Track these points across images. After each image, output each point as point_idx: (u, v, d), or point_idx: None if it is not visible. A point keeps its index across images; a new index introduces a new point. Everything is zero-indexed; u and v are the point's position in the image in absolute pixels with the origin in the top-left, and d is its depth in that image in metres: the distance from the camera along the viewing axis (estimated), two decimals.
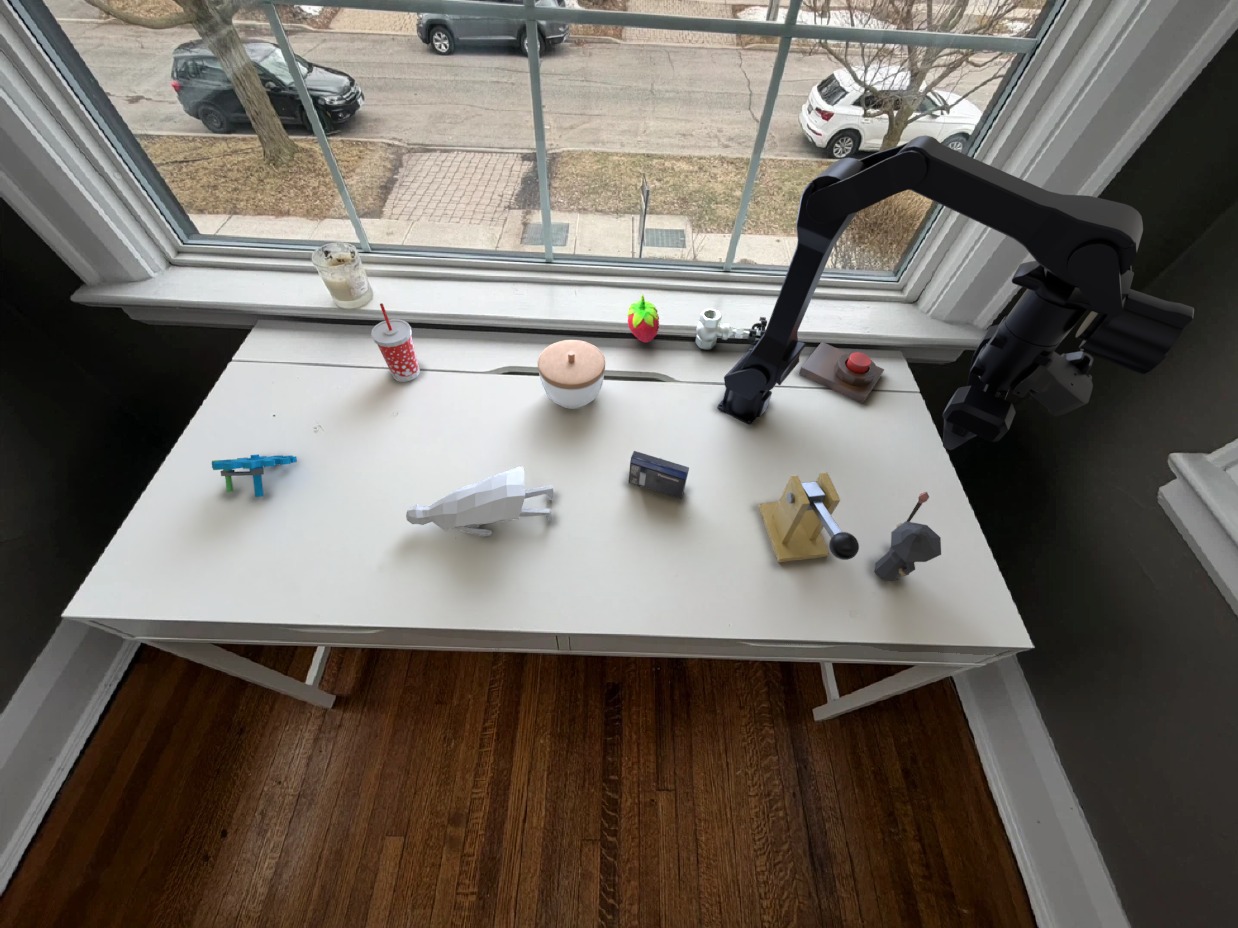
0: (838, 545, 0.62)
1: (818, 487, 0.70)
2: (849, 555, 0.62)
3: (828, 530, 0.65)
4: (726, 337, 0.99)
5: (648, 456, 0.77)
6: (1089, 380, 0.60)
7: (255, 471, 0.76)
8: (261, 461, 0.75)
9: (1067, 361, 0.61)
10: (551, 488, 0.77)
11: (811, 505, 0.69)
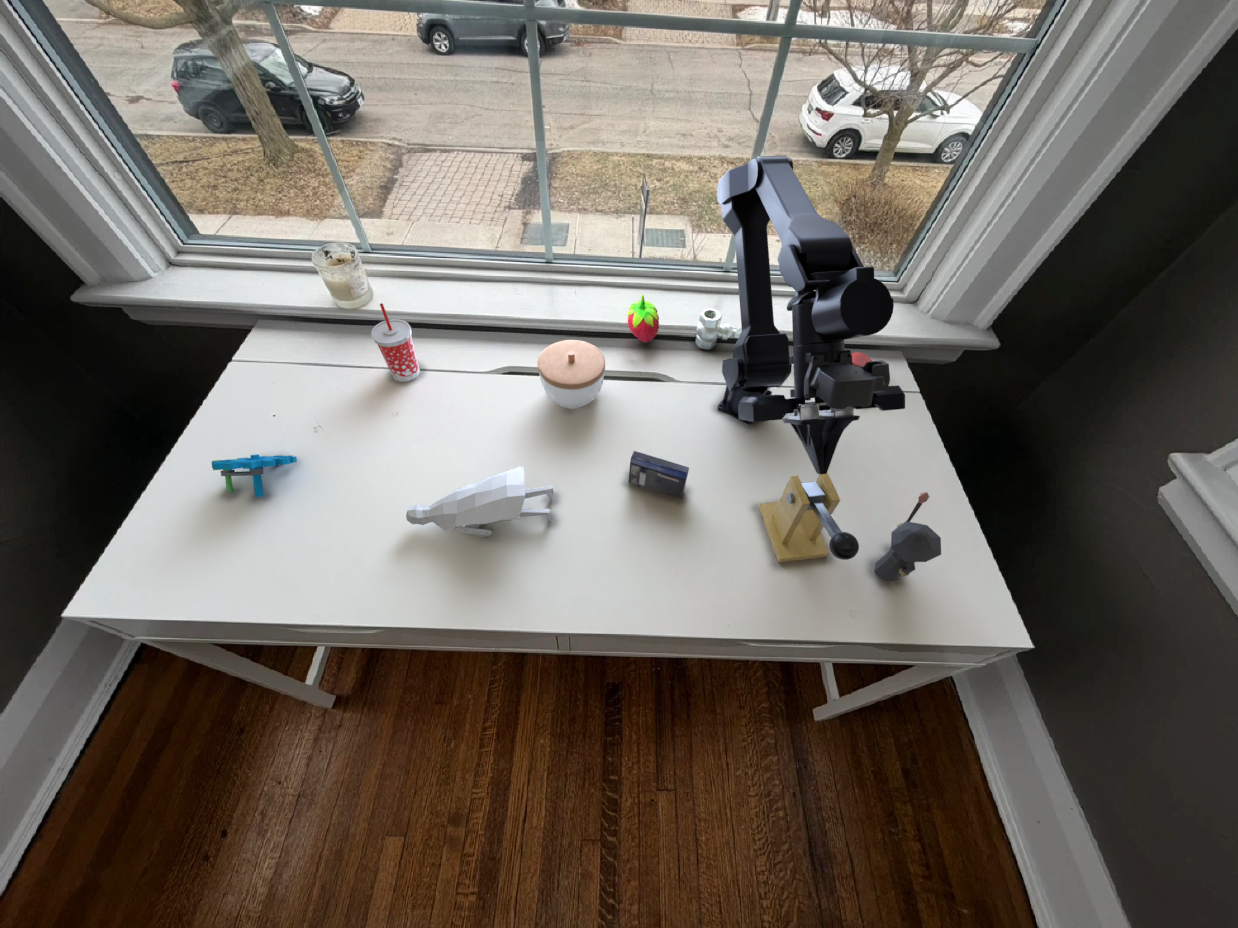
0: (838, 545, 0.62)
1: (818, 487, 0.70)
2: (849, 555, 0.62)
3: (828, 530, 0.65)
4: (726, 337, 0.99)
5: (648, 456, 0.77)
6: (873, 377, 0.58)
7: (255, 471, 0.76)
8: (261, 461, 0.75)
9: (859, 368, 0.61)
10: (551, 488, 0.77)
11: (811, 505, 0.69)
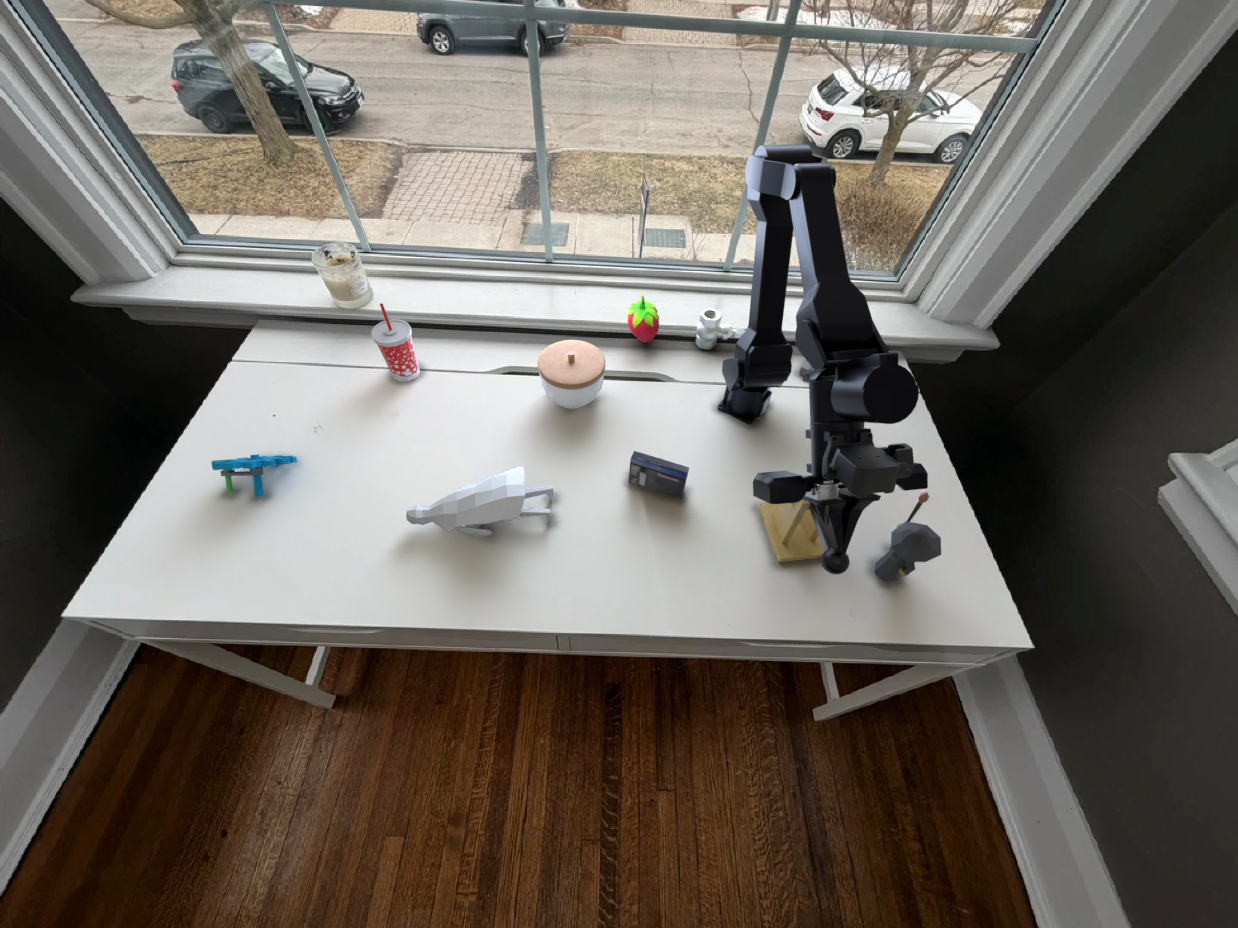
0: (830, 564, 0.64)
1: None
2: (839, 573, 0.65)
3: (822, 541, 0.67)
4: (726, 337, 0.99)
5: (648, 456, 0.77)
6: (897, 463, 0.55)
7: (255, 471, 0.76)
8: (261, 461, 0.75)
9: (880, 450, 0.58)
10: (551, 488, 0.77)
11: (810, 507, 0.70)
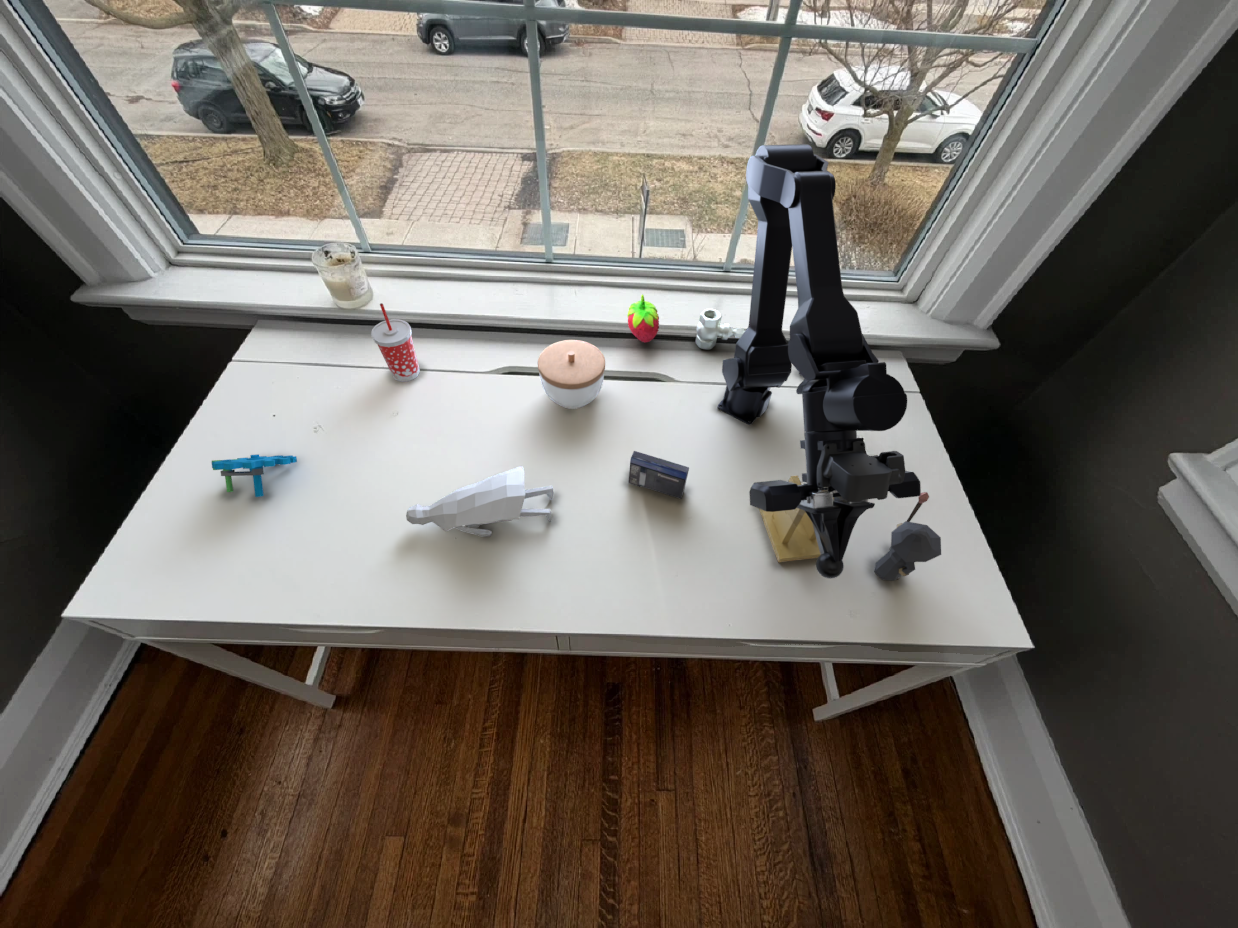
0: (824, 569, 0.66)
1: None
2: None
3: (819, 543, 0.68)
4: (726, 337, 0.99)
5: (648, 456, 0.77)
6: (888, 470, 0.57)
7: (255, 471, 0.76)
8: (261, 461, 0.75)
9: (872, 458, 0.59)
10: (551, 488, 0.77)
11: None
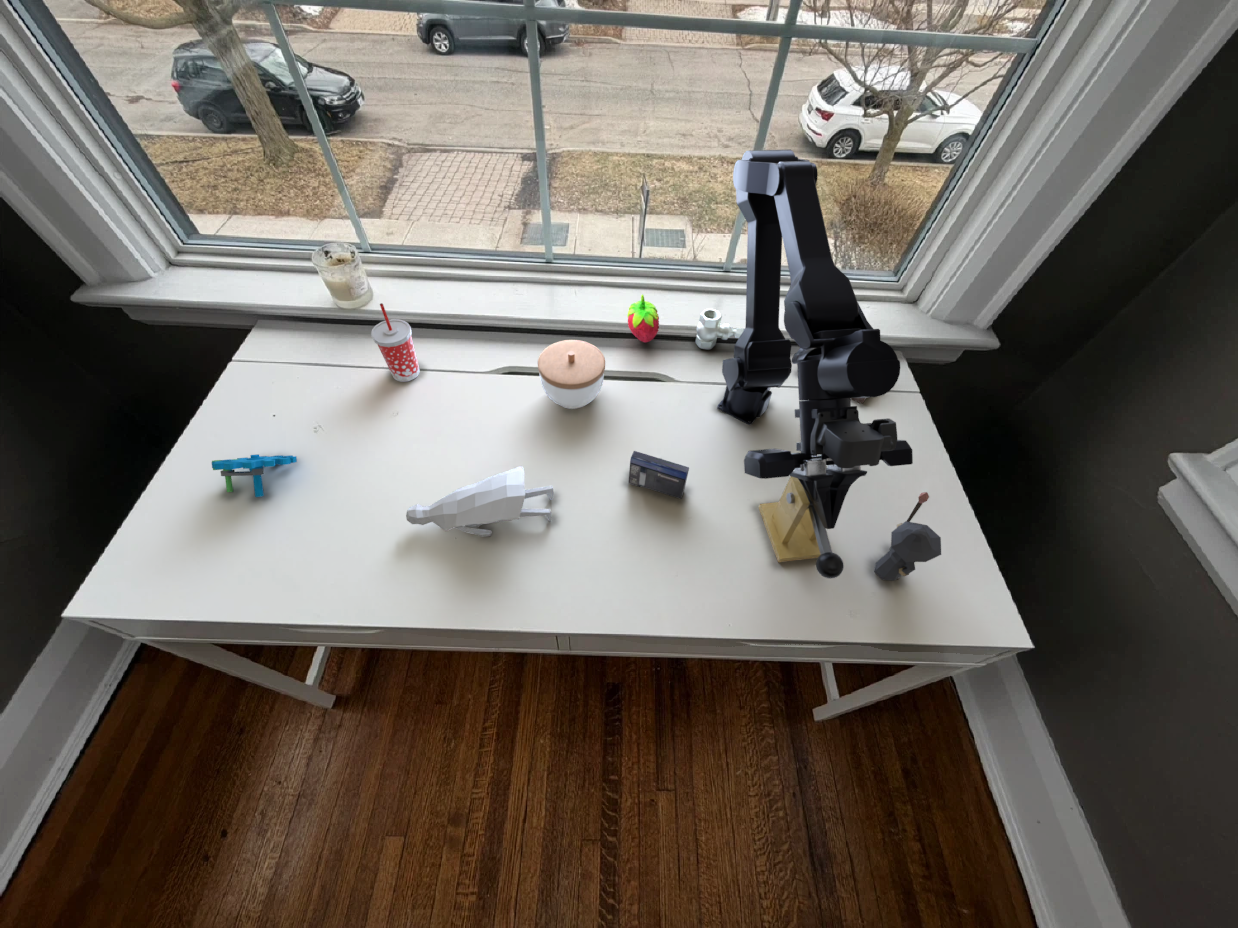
0: (824, 569, 0.66)
1: None
2: None
3: (819, 543, 0.68)
4: (726, 337, 0.99)
5: (648, 456, 0.77)
6: (881, 436, 0.57)
7: (255, 471, 0.76)
8: (261, 461, 0.75)
9: (865, 425, 0.60)
10: (551, 488, 0.77)
11: (809, 508, 0.70)
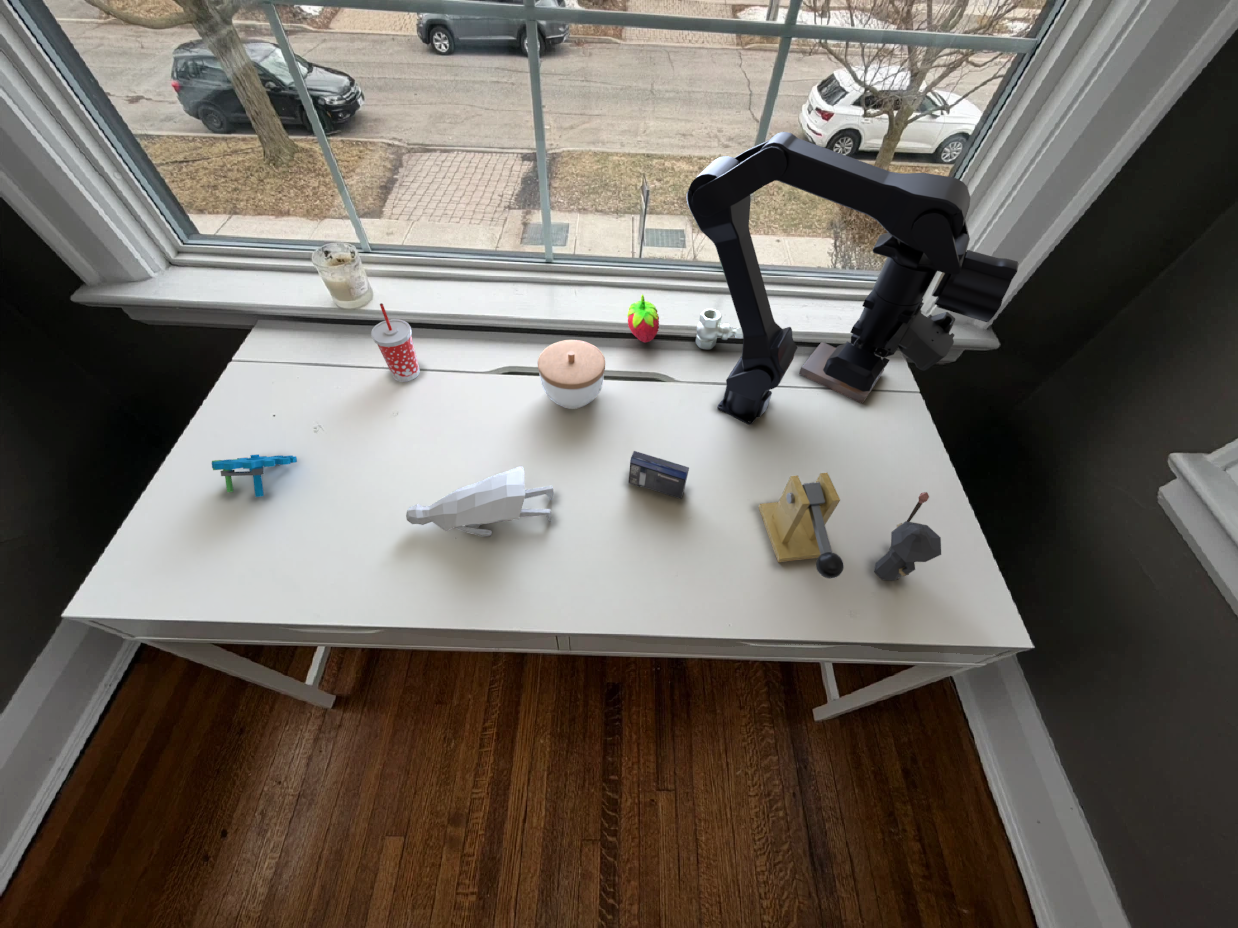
0: (824, 569, 0.66)
1: (820, 491, 0.69)
2: None
3: (819, 543, 0.68)
4: (726, 337, 0.99)
5: (648, 456, 0.77)
6: (951, 337, 0.68)
7: (255, 471, 0.76)
8: (261, 461, 0.75)
9: (932, 321, 0.69)
10: (551, 488, 0.77)
11: (809, 508, 0.70)
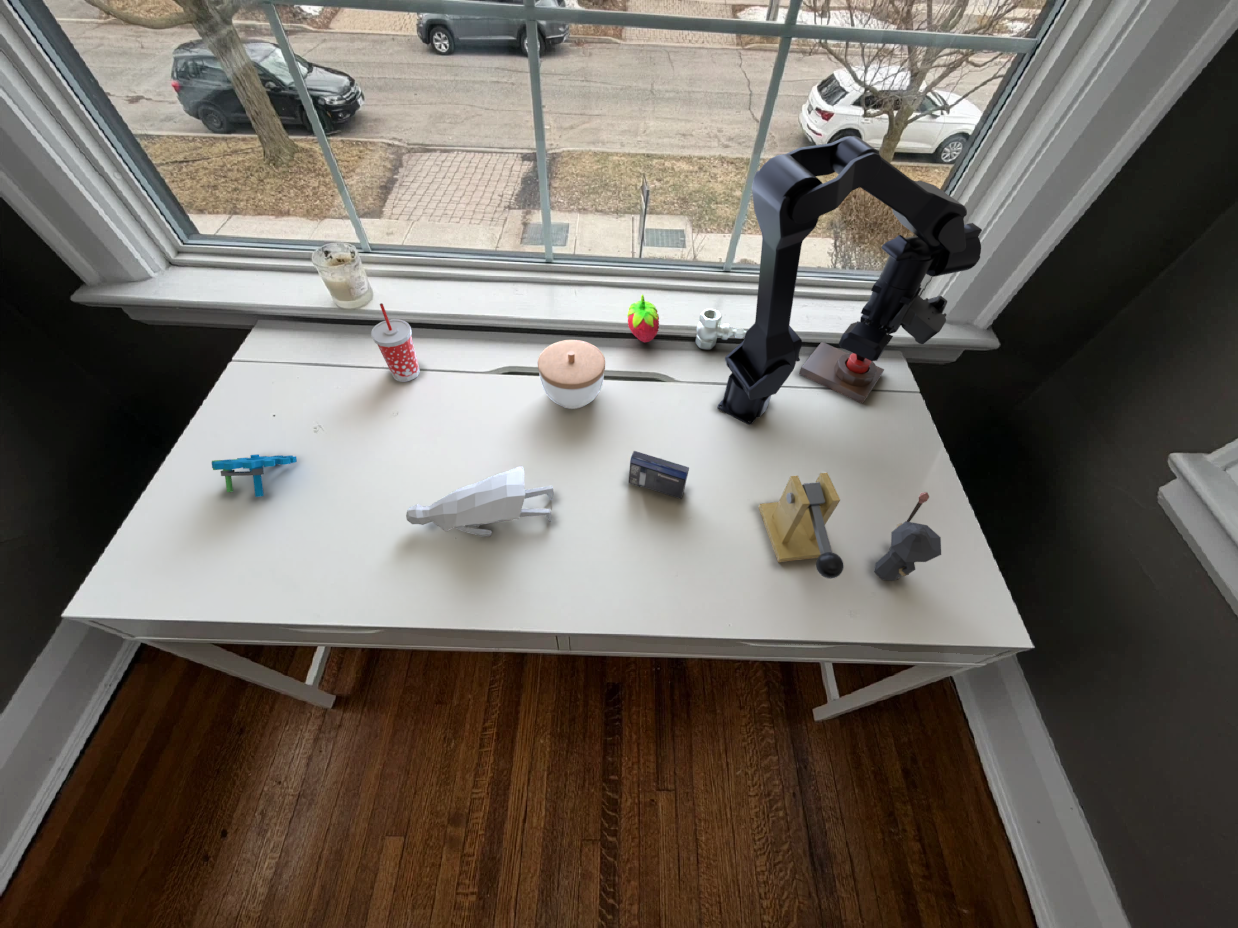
0: (824, 569, 0.66)
1: (820, 491, 0.69)
2: None
3: (819, 543, 0.68)
4: (726, 337, 0.99)
5: (648, 456, 0.77)
6: (943, 317, 0.83)
7: (255, 471, 0.76)
8: (261, 461, 0.75)
9: (928, 303, 0.83)
10: (551, 488, 0.77)
11: (809, 508, 0.70)
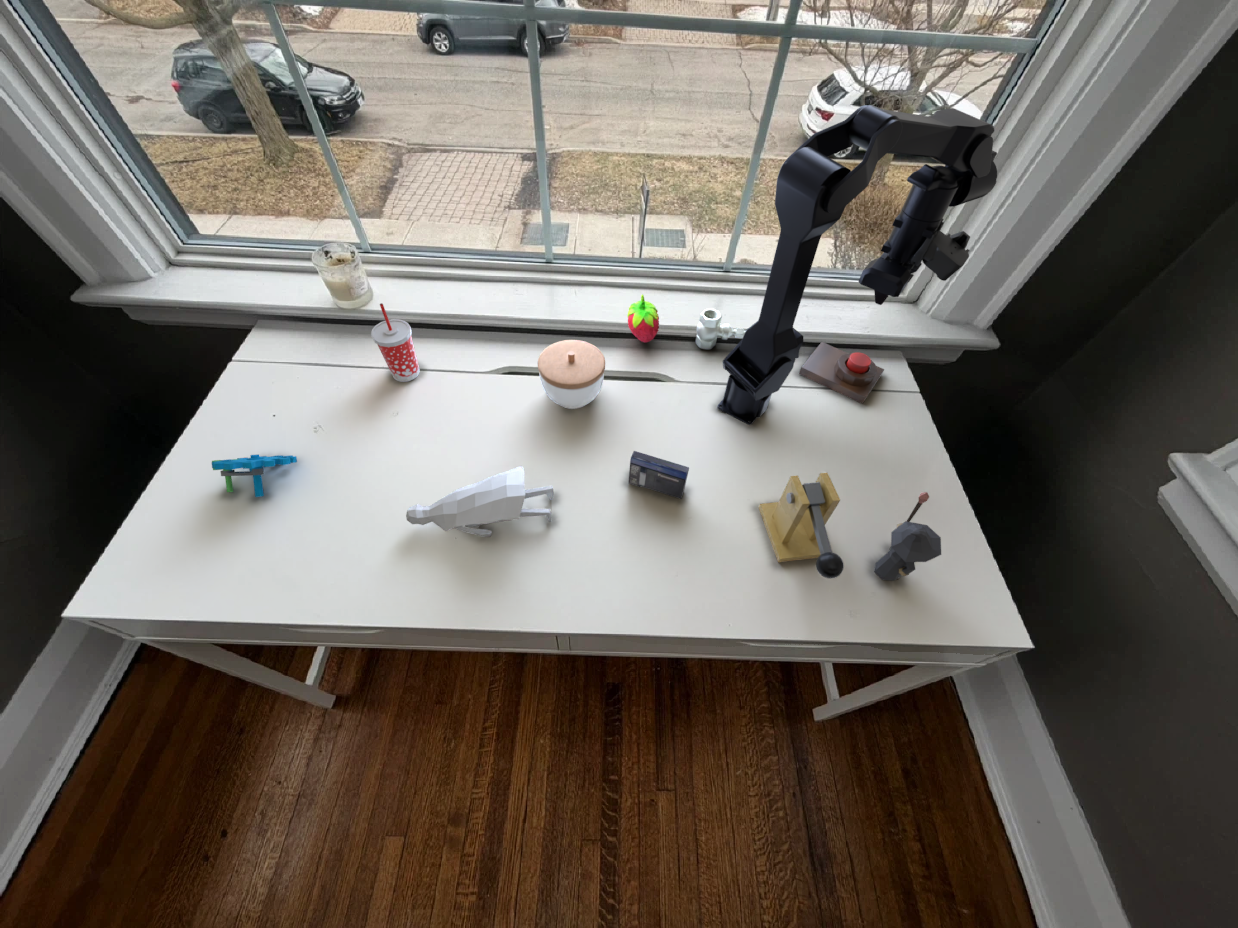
0: (824, 569, 0.66)
1: (820, 491, 0.69)
2: None
3: (819, 543, 0.68)
4: (726, 337, 0.99)
5: (648, 456, 0.77)
6: (966, 252, 0.81)
7: (255, 471, 0.76)
8: (261, 461, 0.75)
9: (950, 238, 0.81)
10: (551, 488, 0.77)
11: (809, 508, 0.70)
